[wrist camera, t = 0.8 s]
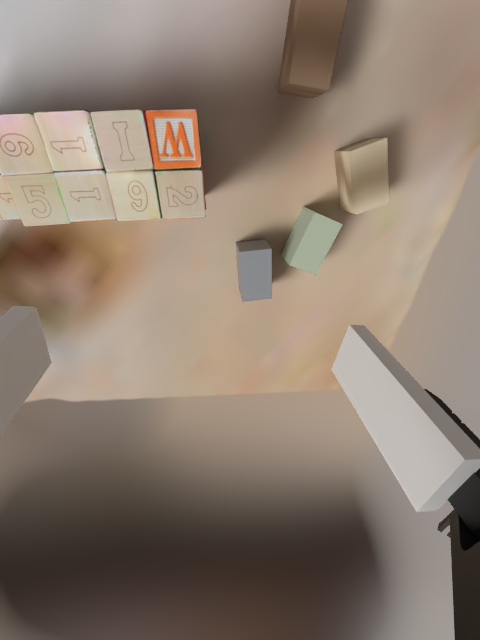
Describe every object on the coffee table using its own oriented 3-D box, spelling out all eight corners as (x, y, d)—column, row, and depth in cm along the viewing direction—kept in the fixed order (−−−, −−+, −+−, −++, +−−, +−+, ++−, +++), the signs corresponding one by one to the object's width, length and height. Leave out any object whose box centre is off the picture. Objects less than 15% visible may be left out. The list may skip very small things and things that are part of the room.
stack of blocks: (-8, 205, 28) (-132, 235, 17) (-42, 130, 25) (-220, 112, 14) (204, 196, 30) (207, 219, 19) (198, 125, 27) (198, 108, 16)
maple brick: (333, 151, 29) (350, 151, 26) (365, 139, 29) (387, 137, 26) (340, 208, 32) (356, 214, 29) (369, 197, 32) (389, 202, 29)
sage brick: (302, 206, 32) (315, 212, 28) (328, 217, 33) (342, 224, 29) (280, 254, 34) (289, 265, 31) (304, 263, 35) (315, 274, 32)
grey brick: (235, 241, 33) (239, 251, 29) (264, 239, 33) (271, 248, 30) (238, 287, 36) (242, 301, 33) (265, 284, 36) (271, 298, 33)
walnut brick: (290, 1, 23) (305, -26, 20) (329, 10, 24) (350, -14, 20) (277, 92, 26) (289, 83, 23) (312, 98, 27) (328, 90, 23)
